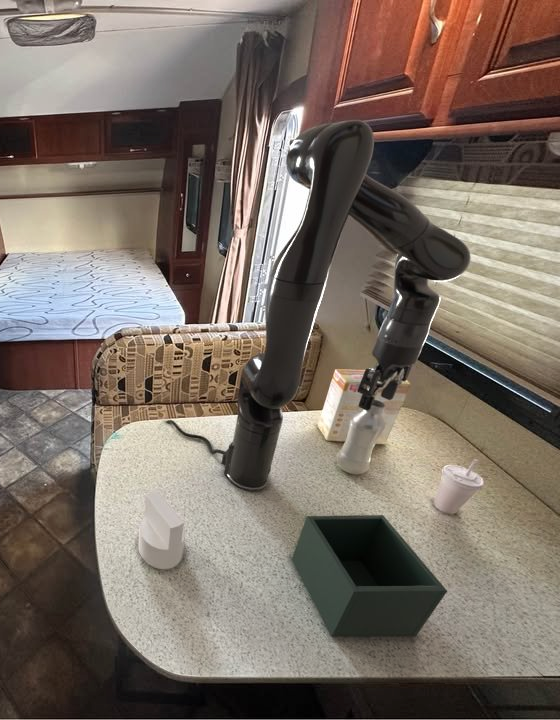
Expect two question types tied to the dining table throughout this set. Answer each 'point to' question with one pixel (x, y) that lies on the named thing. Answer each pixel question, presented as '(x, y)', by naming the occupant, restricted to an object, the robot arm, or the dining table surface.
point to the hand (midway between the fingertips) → (375, 403)
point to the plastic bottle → (361, 439)
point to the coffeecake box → (355, 405)
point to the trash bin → (365, 577)
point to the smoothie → (457, 487)
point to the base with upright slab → (161, 533)
